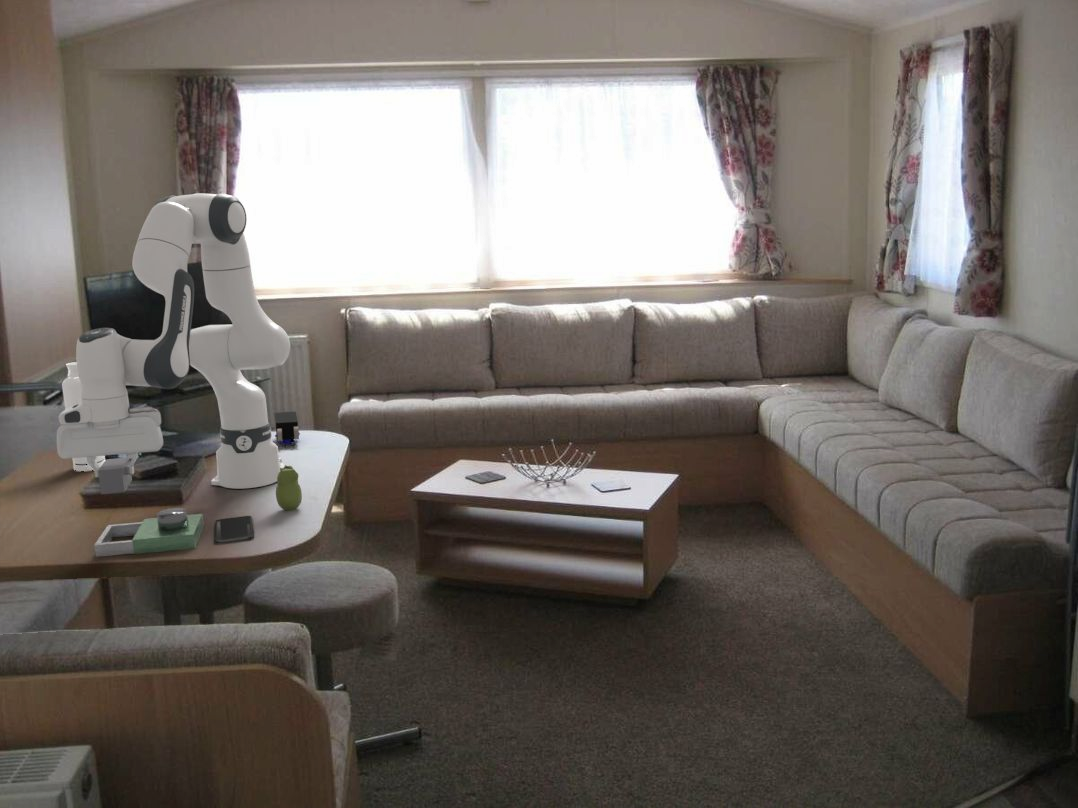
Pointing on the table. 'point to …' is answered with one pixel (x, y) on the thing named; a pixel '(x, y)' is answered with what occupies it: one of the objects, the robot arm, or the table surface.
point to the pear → (288, 489)
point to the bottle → (72, 398)
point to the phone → (234, 529)
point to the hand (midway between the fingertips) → (114, 475)
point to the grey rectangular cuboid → (114, 476)
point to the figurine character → (286, 427)
